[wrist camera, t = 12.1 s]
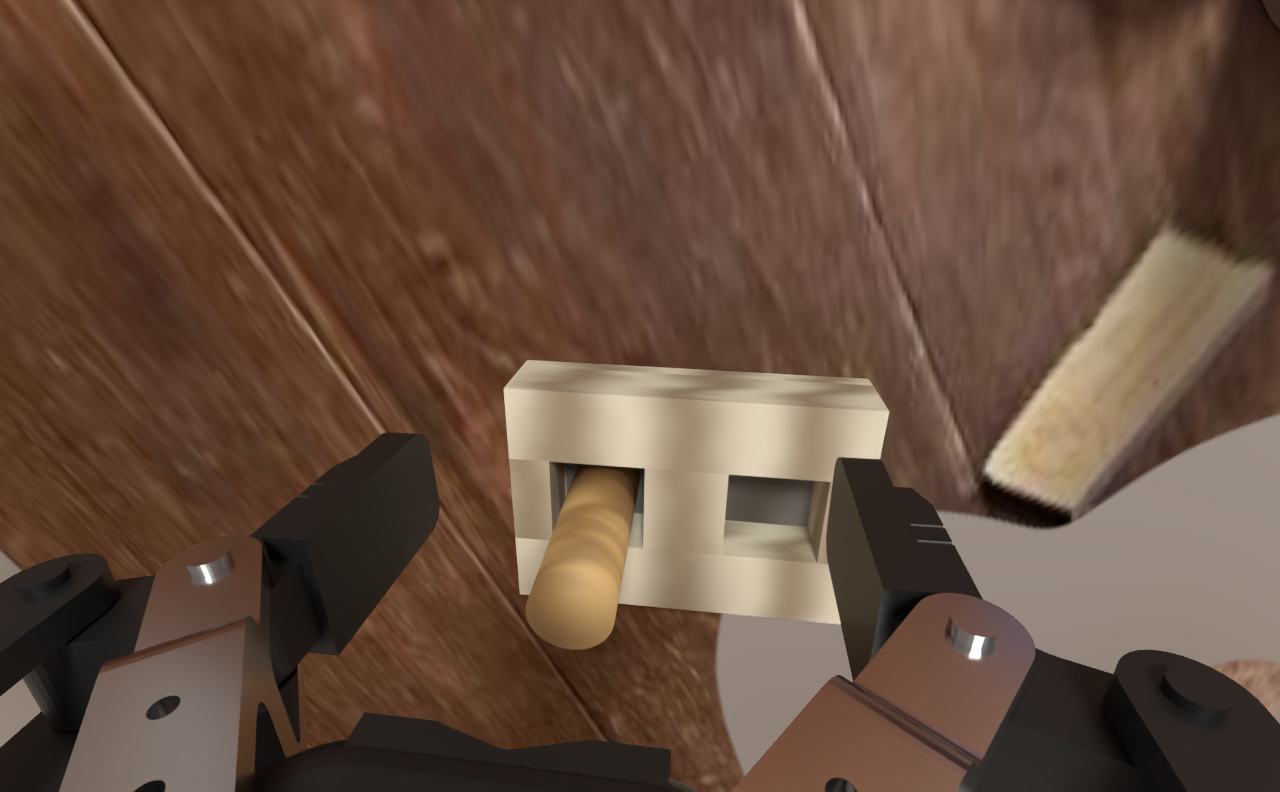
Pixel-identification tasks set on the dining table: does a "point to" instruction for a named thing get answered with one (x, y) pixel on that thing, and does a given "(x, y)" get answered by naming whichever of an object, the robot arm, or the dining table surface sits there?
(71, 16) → the dining table surface
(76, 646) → the robot arm
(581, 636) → the peg
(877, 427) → the hole block
